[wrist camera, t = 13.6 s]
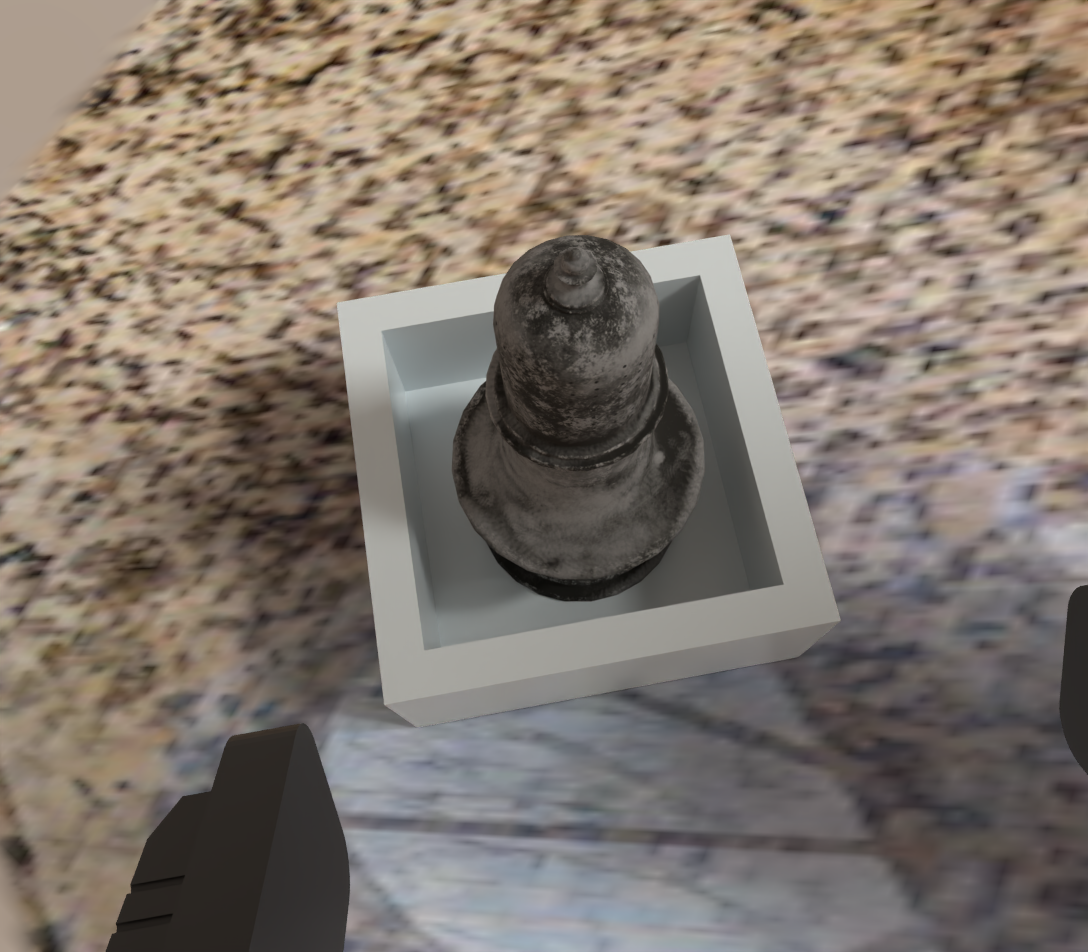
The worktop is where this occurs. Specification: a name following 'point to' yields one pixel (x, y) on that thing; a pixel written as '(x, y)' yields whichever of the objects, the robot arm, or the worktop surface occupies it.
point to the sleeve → (546, 623)
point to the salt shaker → (578, 427)
